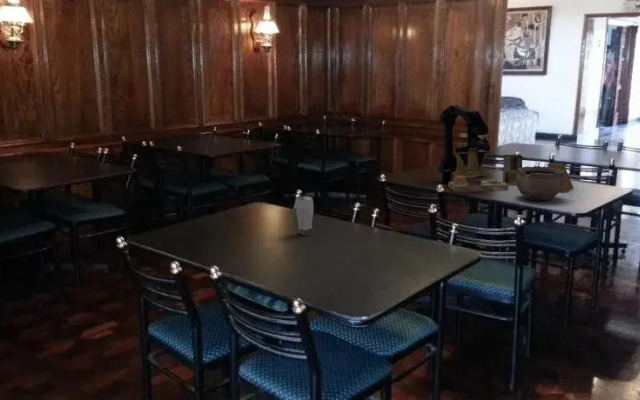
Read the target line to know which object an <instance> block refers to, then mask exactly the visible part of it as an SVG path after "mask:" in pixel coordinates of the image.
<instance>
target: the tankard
mask: <svg viewBox="0 0 640 400" xmlns="http://www.w3.org/2000/svg"><path fill="white" fill-rule="evenodd" d="M458 137H459V141H458V143H457V147H466V146H467V140H465V138H467V132H466V133H465V132H464V133H463V132H461V133H460V134H459V135H458ZM478 137H480V140H481V141H484V140H489V137H488V135H478ZM489 141H490V140H489ZM490 144H491V143H490V142H489V146H490V147H491V145H490ZM470 149H472V148H470ZM477 152H478V150H475V151H468V152H467V153H469V154H468V164H467V166H465V164H464V162H463V160H462V159H461V157H460V155H459V154H457V153H456V156H455V157H456V158H457V167H456V171H455V172H452V176H453V177H454V176H465V177H476V179H479V178H482V177H484V176H485V168H484V165H483V164H484V162H485V161H486V158H487V157H488V155H489V153H490V151H488V152H487V153H486V154H485V155H484V158H483V161H482V164H481V165H479V162H478V156H477Z"/></svg>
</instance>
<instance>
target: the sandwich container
mask: <svg viewBox="0 0 640 400" xmlns="http://www.w3.org/2000/svg"><path fill="white" fill-rule="evenodd" d="M547 167H549V168H555V169H559V170H563V171H565V173H564V175H563V186H562V189H561V191H560V192H559V193H561V194H562V193H565V192H568V191H570V190H573V189H574V185H573V183H572V180H571V178H570V175H569V174H568V173H569V172H568V171H567V166H566V165H565V164H563V163H554V162H553V163H552V162H548V165H547Z"/></svg>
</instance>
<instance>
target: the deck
mask: <svg viewBox="0 0 640 400" xmlns="http://www.w3.org/2000/svg"><path fill="white" fill-rule="evenodd" d="M447 185H448V188H449V189H450V190H452V191H454V192H455V193H475V192H476V193H477V192H479V191H481V192H500V191H501V192H503V190H508V191H509V185H508V184H506V183H504V182H503V180H500V179H483V180H481V179H477V178H476V177H466V185H456V184H454V180H452V182H449V183H447Z"/></svg>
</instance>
